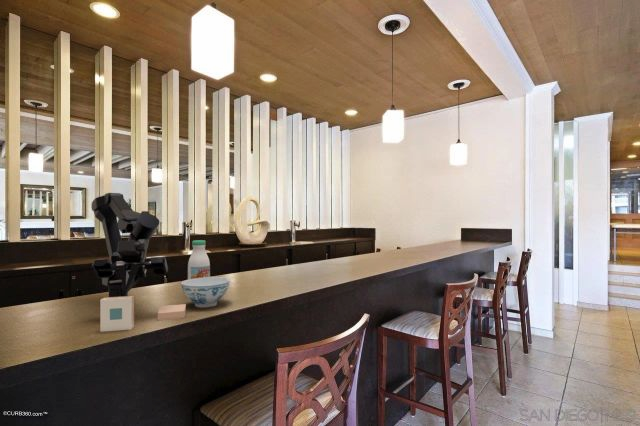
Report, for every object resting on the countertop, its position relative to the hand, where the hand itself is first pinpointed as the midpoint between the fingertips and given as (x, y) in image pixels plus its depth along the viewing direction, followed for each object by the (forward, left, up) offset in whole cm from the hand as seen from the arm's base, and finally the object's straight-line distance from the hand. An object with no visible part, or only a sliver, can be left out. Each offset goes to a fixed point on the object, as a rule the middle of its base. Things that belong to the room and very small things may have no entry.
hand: (125, 292), depth 93 cm
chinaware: (-17, +17, -8) cm, 26 cm away
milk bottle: (-32, +11, -8) cm, 35 cm away
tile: (+5, 0, -8) cm, 10 cm away
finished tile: (-6, +10, -9) cm, 15 cm away
